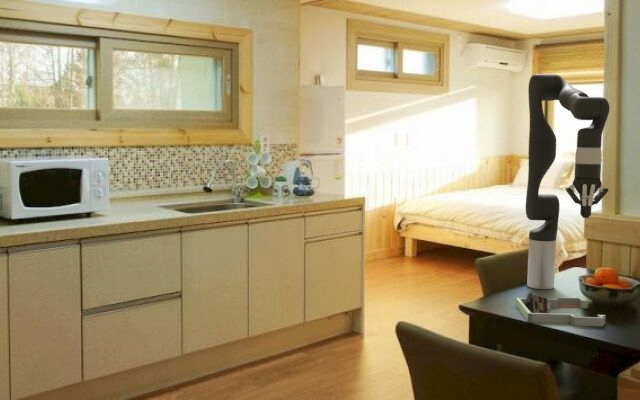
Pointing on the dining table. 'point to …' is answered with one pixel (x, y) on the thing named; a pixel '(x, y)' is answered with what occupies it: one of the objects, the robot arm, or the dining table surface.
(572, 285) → the dining table surface
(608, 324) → the dining table surface
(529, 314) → the track
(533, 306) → the marbled cake slice
